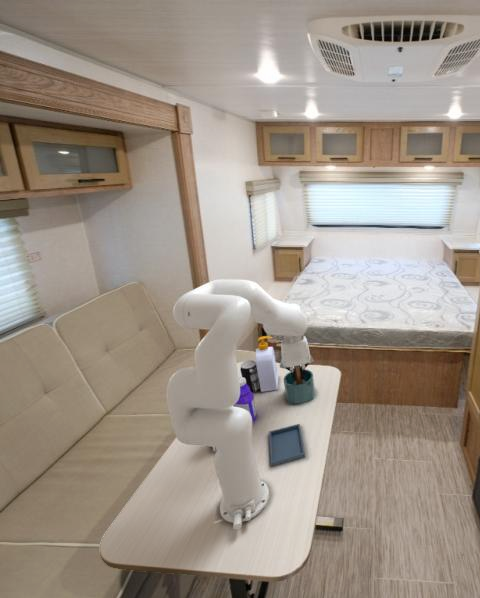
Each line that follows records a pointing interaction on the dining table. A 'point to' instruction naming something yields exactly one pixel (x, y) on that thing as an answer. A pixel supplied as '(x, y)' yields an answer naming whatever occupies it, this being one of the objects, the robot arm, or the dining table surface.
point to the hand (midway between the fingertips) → (298, 377)
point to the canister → (299, 389)
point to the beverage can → (250, 375)
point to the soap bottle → (266, 366)
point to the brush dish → (286, 445)
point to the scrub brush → (298, 376)
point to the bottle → (246, 399)
